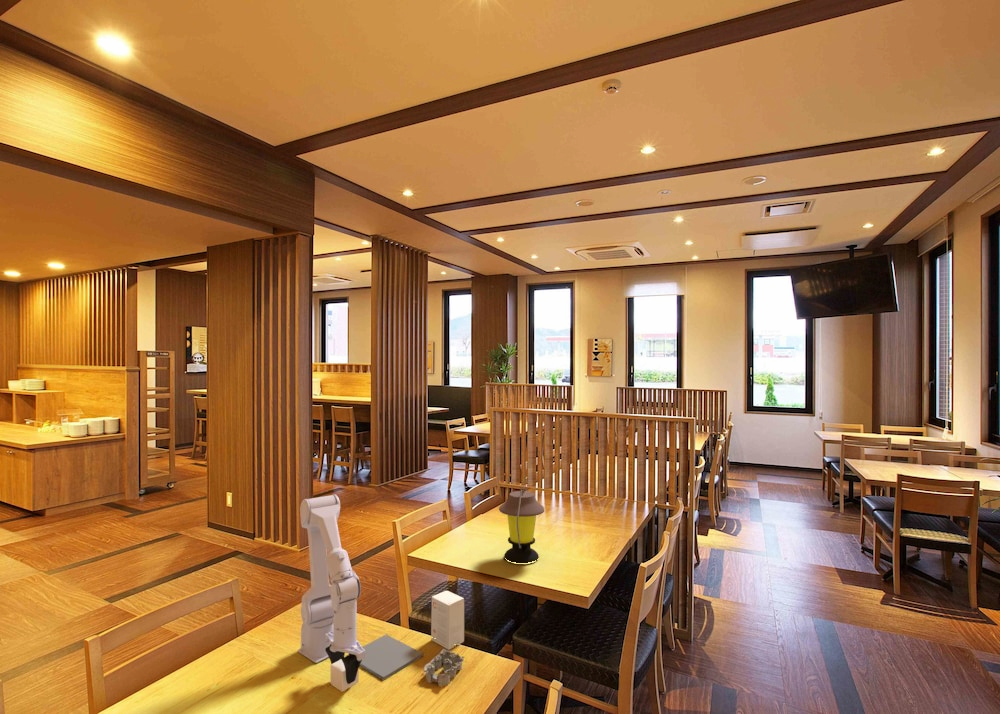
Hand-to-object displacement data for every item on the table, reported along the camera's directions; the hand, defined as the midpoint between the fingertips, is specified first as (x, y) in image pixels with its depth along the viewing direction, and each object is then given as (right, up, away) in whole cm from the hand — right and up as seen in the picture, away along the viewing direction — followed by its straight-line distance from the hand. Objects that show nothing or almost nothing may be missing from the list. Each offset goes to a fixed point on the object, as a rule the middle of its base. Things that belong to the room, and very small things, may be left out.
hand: (344, 677), depth 132 cm
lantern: (+49, -3, +84) cm, 98 cm away
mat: (+8, -2, +12) cm, 14 cm away
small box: (+25, -2, +20) cm, 32 cm away
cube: (0, -1, 0) cm, 1 cm away
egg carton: (+25, -2, +4) cm, 26 cm away
